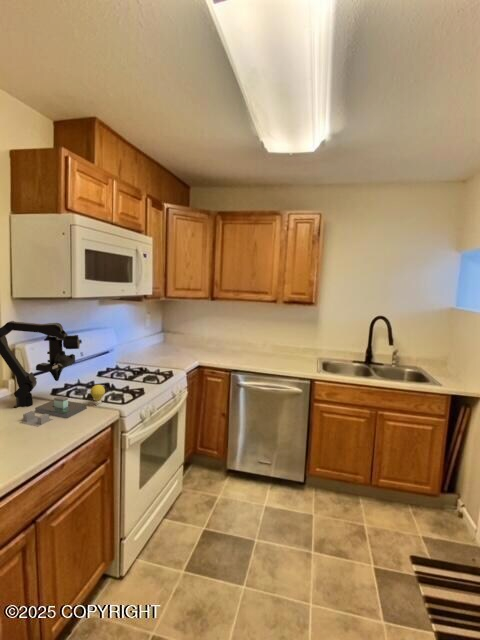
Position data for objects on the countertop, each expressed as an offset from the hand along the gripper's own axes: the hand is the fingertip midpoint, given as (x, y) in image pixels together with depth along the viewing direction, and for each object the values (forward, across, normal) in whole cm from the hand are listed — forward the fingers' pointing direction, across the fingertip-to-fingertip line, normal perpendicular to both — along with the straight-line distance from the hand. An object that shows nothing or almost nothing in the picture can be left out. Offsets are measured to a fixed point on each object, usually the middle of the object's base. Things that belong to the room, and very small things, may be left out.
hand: (56, 380), depth 172 cm
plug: (+12, -7, -9) cm, 16 cm away
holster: (+12, -20, -8) cm, 25 cm away
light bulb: (+12, +7, -18) cm, 23 cm away
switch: (+12, -7, -9) cm, 16 cm away
